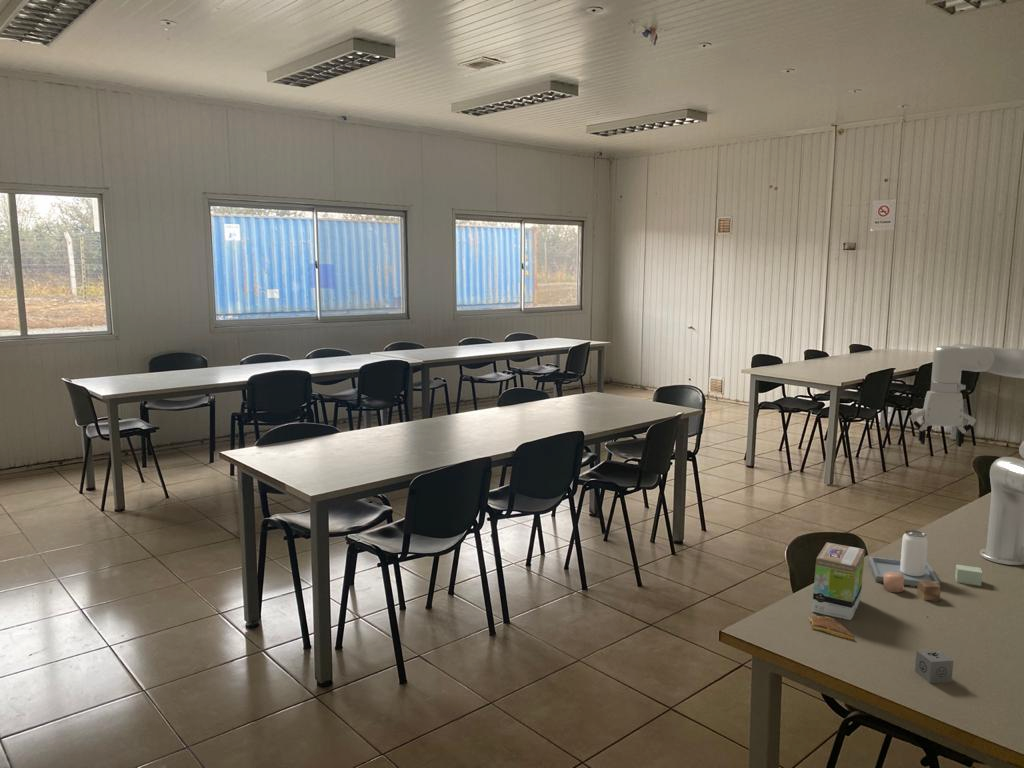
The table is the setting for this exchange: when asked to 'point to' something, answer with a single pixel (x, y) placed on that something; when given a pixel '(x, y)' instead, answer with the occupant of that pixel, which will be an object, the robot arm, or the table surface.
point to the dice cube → (934, 666)
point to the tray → (898, 571)
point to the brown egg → (893, 581)
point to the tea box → (838, 580)
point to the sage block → (968, 575)
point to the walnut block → (928, 590)
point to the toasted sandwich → (830, 626)
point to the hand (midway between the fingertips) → (940, 444)
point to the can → (913, 553)
